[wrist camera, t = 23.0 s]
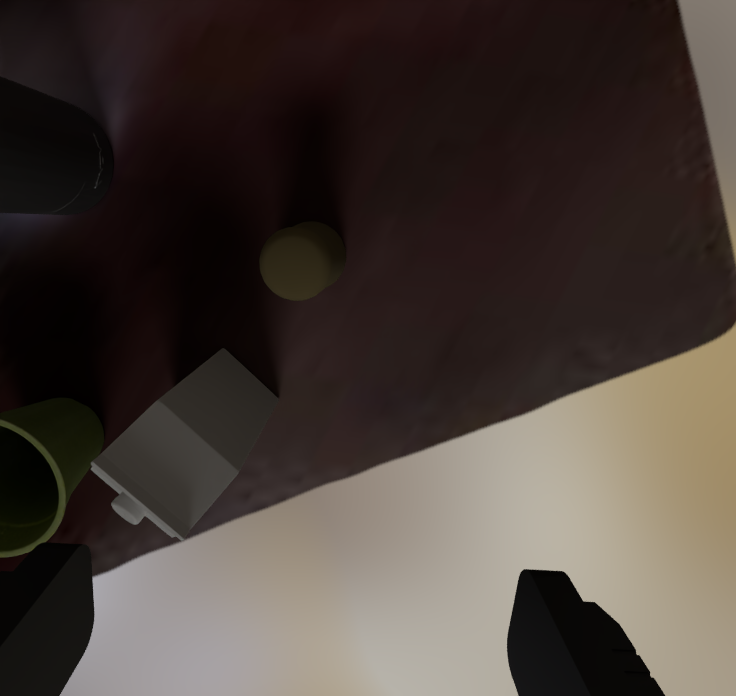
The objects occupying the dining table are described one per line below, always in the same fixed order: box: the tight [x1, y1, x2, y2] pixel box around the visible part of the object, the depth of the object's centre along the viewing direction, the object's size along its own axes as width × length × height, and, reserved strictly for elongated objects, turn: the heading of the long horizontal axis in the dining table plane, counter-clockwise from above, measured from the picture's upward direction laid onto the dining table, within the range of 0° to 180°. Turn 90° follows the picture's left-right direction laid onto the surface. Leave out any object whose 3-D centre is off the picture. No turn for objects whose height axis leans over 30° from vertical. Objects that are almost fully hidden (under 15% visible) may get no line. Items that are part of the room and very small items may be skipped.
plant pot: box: [0, 398, 104, 557], centre depth 45 cm, size 12×12×11 cm
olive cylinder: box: [259, 221, 346, 301], centre depth 41 cm, size 6×6×11 cm
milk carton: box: [91, 348, 279, 541], centre depth 40 cm, size 7×7×19 cm
